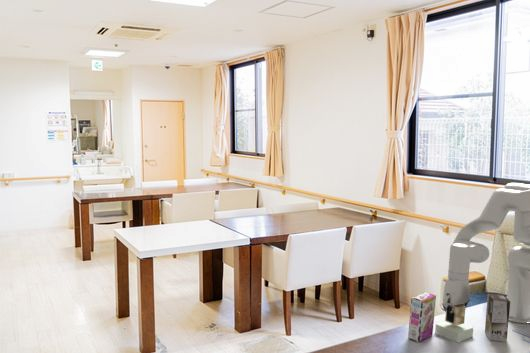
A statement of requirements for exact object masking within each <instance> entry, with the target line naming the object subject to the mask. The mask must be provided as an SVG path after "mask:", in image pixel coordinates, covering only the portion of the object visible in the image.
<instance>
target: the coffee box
mask: <svg viewBox="0 0 530 353" xmlns="http://www.w3.org/2000/svg"><path fill="white" fill-rule="evenodd" d="M485 309H486V312H485V324H484V325H485V326H484V333H485V334H486V336H487V337H488V339H489V341H495V342H502V343H507V341H508V332H509V331H508V330H509V323H510V322H509V311H510V301H509V300H508V298H507V295H505V294H502V293H501V294H500V293H487V298H486V308H485Z"/></svg>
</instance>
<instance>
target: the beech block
mask: <svg viewBox="0 0 530 353" xmlns="http://www.w3.org/2000/svg"><path fill="white" fill-rule="evenodd" d="M451 307H452V306H451V305H450V308H451ZM466 307H467V306H464V305H461V304H459V305H455V308H454V312H453V313H454V322H453V323H451V322H449V321H447V320H446V315H447V311H446V310H445V316H444V318H445V319H444V321H446V322H449V323H451V324H453V325H455V326H456V325H460V324H465V319H466V318H465V316H466V309H465V308H466Z"/></svg>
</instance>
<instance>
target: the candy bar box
mask: <svg viewBox="0 0 530 353" xmlns="http://www.w3.org/2000/svg"><path fill="white" fill-rule="evenodd" d="M436 301H437V295H436V294H432V293H429V292H427V291H425V292H423V293H420V294H417V295H415V296H412V297H411V300H410V313H409V325H408V334H407V335H408V336H407V339H408V340H411V341H413V342H417V343H420V342H422V341H424V340H426V339H427V338H429V337H431V336H433V332H434V324H435V322H434V321H435V313H436V312H435V311H436V310H435V309H436Z"/></svg>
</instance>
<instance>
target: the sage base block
mask: <svg viewBox="0 0 530 353" xmlns="http://www.w3.org/2000/svg"><path fill="white" fill-rule="evenodd" d="M434 328H435V329H434V330H435V332H434V333H435V334H437V335H440V336H441V337H444V338H446V339H448V340H451V341H453V342H456V343H459V342H462V341H465V340H467V339H469V338H473V337H474V327H472V326H470V325H468V324H465V323H464V324H460V325H456V326H455V325H453V324H451V323H449V322H446V321H445V320H444V321H440V322H439V323H436V324H435V327H434Z"/></svg>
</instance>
